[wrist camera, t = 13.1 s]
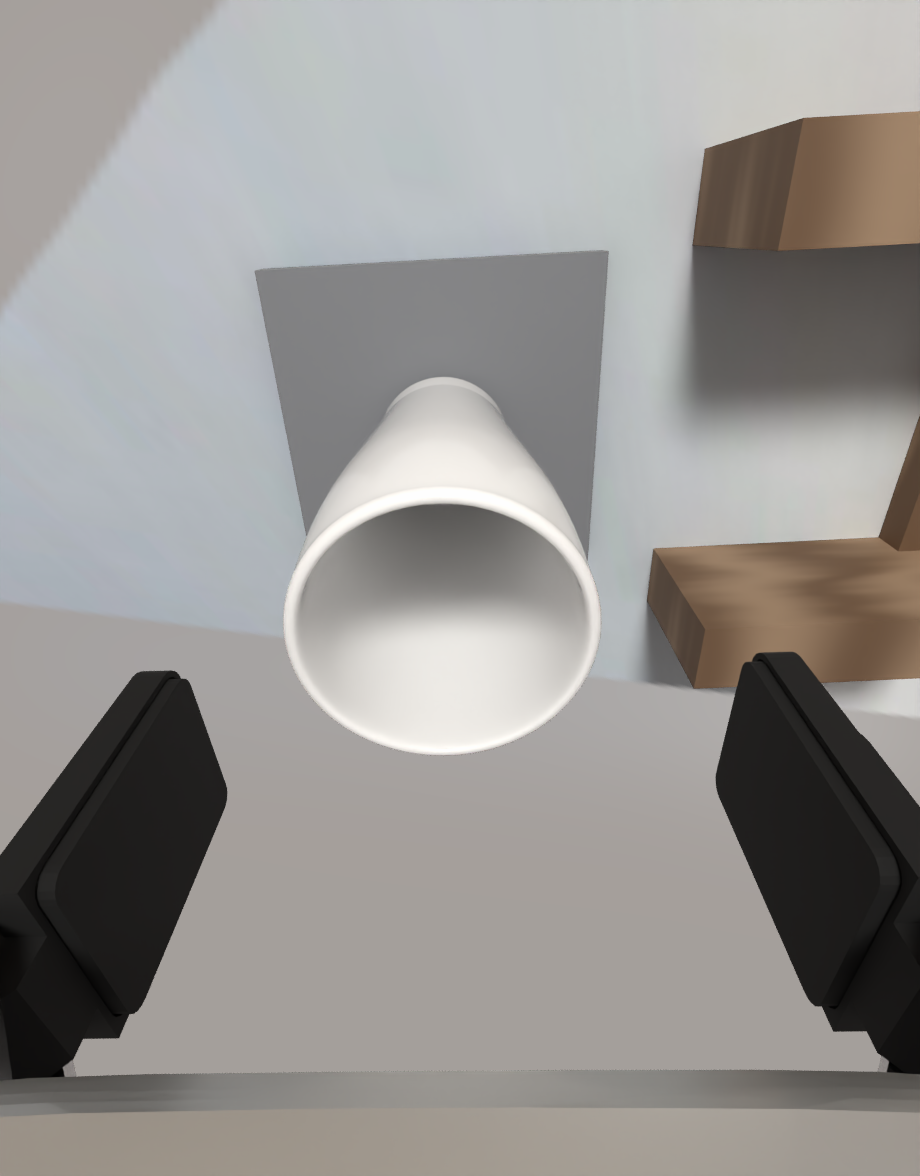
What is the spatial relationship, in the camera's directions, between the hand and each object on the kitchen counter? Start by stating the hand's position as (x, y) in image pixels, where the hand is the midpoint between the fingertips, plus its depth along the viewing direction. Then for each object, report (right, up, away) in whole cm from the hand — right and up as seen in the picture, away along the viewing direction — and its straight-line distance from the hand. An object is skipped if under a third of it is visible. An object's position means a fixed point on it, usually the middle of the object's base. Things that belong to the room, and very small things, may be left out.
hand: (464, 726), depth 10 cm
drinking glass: (-1, +9, +15) cm, 18 cm away
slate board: (-1, +9, +16) cm, 19 cm away
